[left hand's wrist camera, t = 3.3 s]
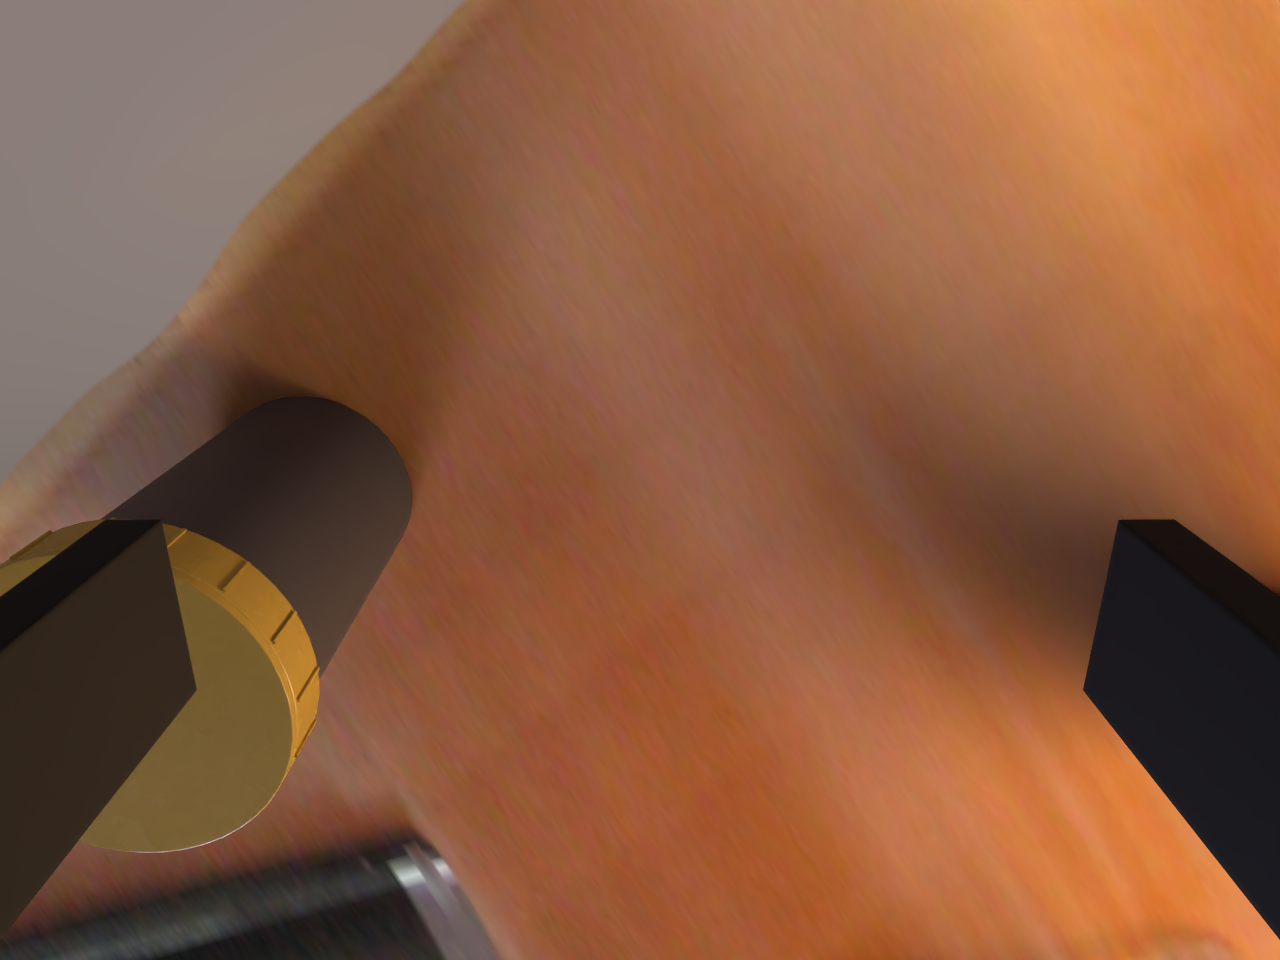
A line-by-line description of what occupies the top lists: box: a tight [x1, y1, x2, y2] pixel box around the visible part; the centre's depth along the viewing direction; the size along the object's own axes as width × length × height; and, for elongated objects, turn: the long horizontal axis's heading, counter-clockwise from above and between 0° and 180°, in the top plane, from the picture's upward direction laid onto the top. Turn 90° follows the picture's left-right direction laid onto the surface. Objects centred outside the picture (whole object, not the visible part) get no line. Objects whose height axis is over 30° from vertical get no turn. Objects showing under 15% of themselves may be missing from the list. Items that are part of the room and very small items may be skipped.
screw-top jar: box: [100, 397, 412, 679], centre depth 34 cm, size 9×9×17 cm
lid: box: [0, 517, 319, 853], centre depth 27 cm, size 10×10×2 cm
